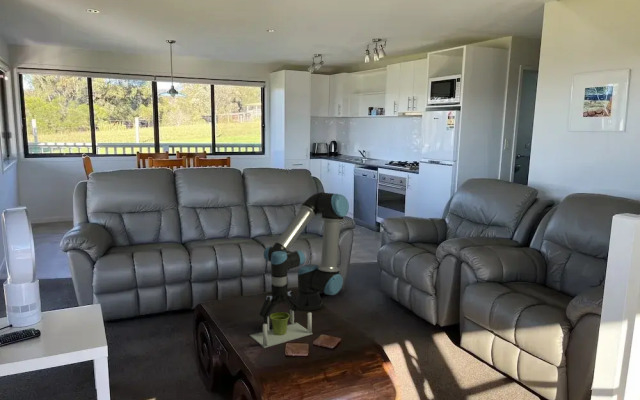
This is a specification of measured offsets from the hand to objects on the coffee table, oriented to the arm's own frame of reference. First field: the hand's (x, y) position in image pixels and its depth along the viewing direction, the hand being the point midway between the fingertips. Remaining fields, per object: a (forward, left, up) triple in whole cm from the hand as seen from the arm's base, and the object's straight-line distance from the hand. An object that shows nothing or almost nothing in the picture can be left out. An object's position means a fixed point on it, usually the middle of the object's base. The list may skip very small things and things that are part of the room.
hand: (279, 326), depth 220 cm
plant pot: (0, 0, -4) cm, 4 cm away
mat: (0, +2, -4) cm, 4 cm away
